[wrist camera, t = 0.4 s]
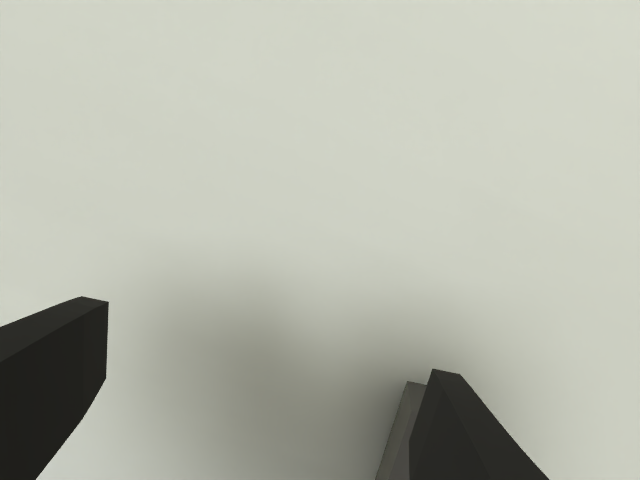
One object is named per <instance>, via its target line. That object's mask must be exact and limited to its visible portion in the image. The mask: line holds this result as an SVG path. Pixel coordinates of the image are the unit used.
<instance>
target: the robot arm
mask: <svg viewBox="0 0 640 480" xmlns="http://www.w3.org/2000/svg"><path fill="white" fill-rule="evenodd" d="M108 306H109V302H106V301H101V300H97V299H92V298H87V297H82V296H81V297H78V298H75V299H71V300H69V301H66V302H63V303H60V304H58V305H55V306H53V307H50V308H47V309H45V310H42V311H40V312H37V313H35V314H32V315H30V316H27V317H25V318H22V319H20V320H17V321H15V322H12V323H9V324H7V325H4V326H2V327H0V480H36V478H37V477H38V476H39V475H40V473H41V472H42V471H43V469H44V468H45V467H46V466H47V464H48V463H49V462H50V460H51V459H52V458H53V457H54V455H55V454H56V453H57V452H58V450H59V449H60V448H61V446H62V445H63V444H64V442H65V441H66V440H67V438H68V437H69V436H70V435H71V433H72V432H73V431H74V429H75V428H76V427H77V425H78V424H79V423H80V421H81V420H82V419H83V417H84V415H85V414H86V412H87V410H88V409H89V407H90V406H91V404H92V402H93V401H94V399H95V397H96V395H97V394H98V392H99V390H100V388H101V386H102V385H103V383H104V381H105V379H106V363H107V334H108ZM409 480H549V479H548V478H547V476H546V475H545V474H544V473H543V472H542V471H541V470H540V469H539V468H538V467H537V466H536V465H535V464H534V463H533V461H532V460H531V459H530V458H529V457H528V456H527V455H526V453H525V452H524V451H523V450H522V449H521V448H520V447H519V445H518V444H517V443H516V442H515V441H514V440H513V438H512V437H511V436H510V435H509V434H508V432H507V431H506V430H505V429H504V428H503V426H502V425H501V424H500V423H499V421H498V420H497V419H496V418H495V417H494V415H493V414H492V413H491V412H490V410H489V409H488V408H487V407H486V405H485V404H484V403H483V402H482V400H481V399H480V398H479V397H478V395H477V394H476V393H475V392H474V390H473V389H472V388H471V387H470V385H469V384H468V383H467V382H466V381H465V379H464V378H463V377H462V376H461V375H460V374H456V373H451V372H446V371H441V370H436V369H432V371H431V375H430V378H429V381H428V384H427V387H426V390H425V393H424V396H423V399H422V402H421V405H420V408H419V411H418V414H417V417H416V420H415V424H414V427H413V430H412V433H411V436H410V439H409Z"/></svg>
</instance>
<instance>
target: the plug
mask: <svg viewBox="0 0 640 480" xmlns="http://www.w3.org/2000/svg"><path fill="white" fill-rule="evenodd" d="M426 387H427V385H423V384H418V383H414V382H409V381H407V384H406V387H405V390H404V393H403V396H402V399H401V402H400V405H399V408H398V411H397V415H396V418H395V421H394V424H393V427H392V430H391V433H390V436H389V439H388V442H387V445H386V448H385V451H384V454H383V458H382V461H381V464H380V467H379V470H378V473H377V476H376V479H375V480H409V439H410V436H411V433H412V430H413V427H414V424H415V420H416V417H417V414H418V411H419V408H420V405H421V402H422V399H423V396H424V393H425V390H426Z"/></svg>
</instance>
